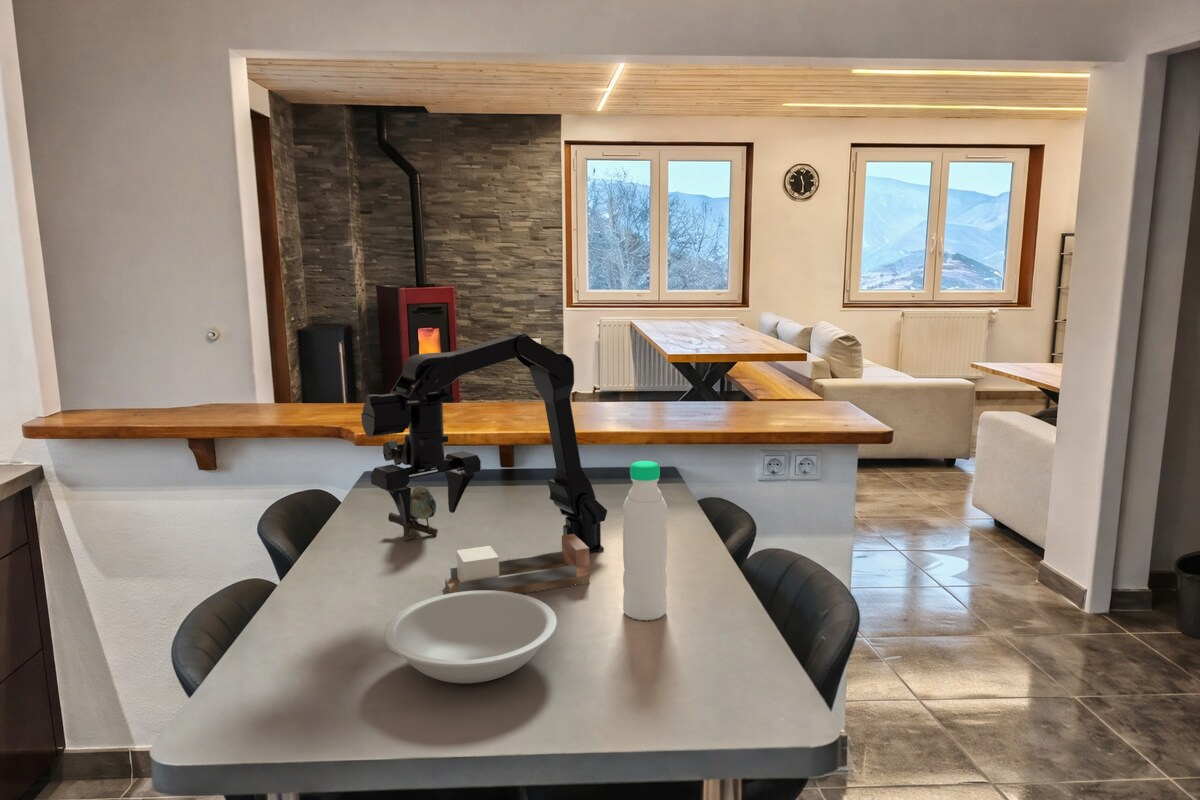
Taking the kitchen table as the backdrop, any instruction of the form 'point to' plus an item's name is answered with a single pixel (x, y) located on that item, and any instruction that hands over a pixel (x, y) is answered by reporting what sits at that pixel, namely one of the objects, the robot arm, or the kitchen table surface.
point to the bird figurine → (418, 512)
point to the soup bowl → (471, 634)
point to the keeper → (477, 563)
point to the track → (533, 571)
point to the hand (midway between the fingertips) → (429, 517)
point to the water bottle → (644, 545)
